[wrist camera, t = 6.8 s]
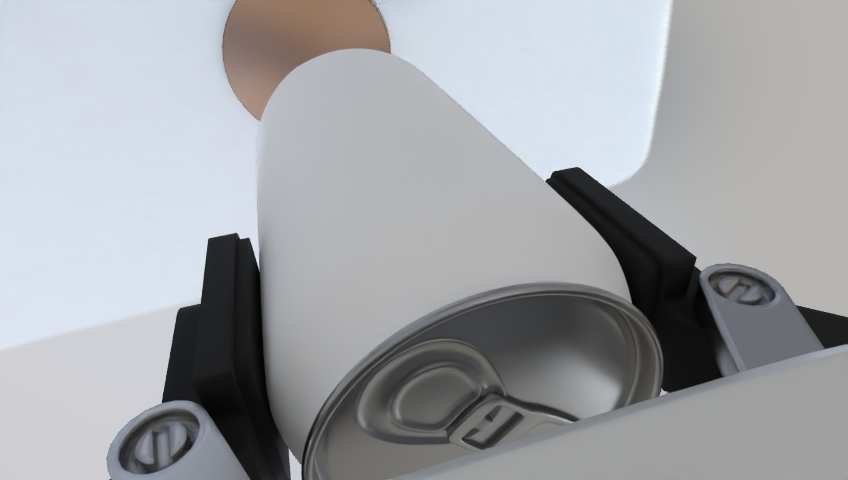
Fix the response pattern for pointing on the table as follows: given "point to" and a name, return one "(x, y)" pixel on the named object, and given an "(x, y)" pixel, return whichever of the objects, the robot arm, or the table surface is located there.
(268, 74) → the coaster
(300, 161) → the can
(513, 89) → the table surface
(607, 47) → the table surface
